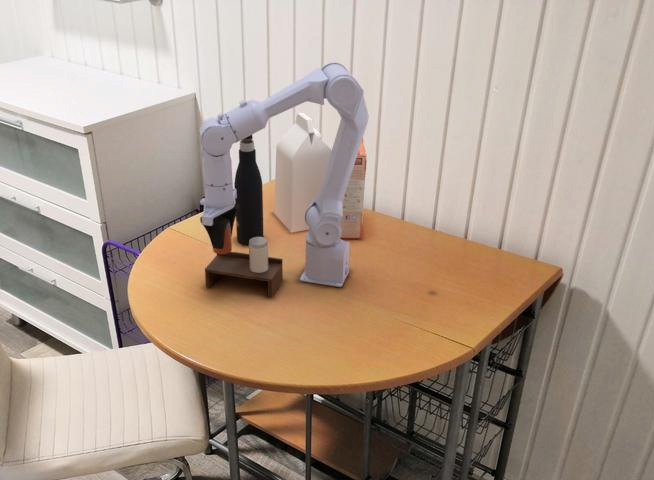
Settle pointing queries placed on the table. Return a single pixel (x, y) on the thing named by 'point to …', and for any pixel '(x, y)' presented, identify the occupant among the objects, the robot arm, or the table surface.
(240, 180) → the black water bottle
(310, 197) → the milk
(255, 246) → the salt shaker
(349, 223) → the cracker box
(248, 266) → the shelf
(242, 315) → the table surface
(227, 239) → the pepper shaker
